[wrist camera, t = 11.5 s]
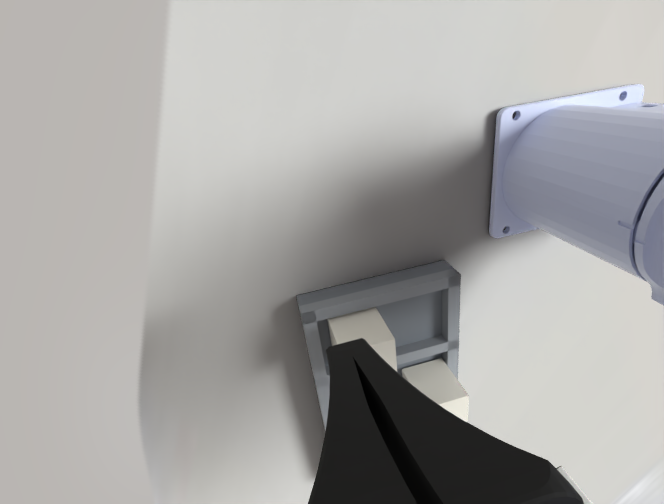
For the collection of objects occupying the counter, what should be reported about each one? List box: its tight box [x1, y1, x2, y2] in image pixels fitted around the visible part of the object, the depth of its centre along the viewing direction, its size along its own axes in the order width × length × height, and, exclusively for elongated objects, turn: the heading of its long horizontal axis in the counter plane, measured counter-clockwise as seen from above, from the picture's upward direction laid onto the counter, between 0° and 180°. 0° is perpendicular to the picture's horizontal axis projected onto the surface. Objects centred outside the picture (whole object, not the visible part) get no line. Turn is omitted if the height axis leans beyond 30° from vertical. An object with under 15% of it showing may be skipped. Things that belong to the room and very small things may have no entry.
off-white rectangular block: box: [327, 307, 397, 371], centre depth 22 cm, size 3×3×4 cm
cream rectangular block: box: [402, 358, 469, 423], centre depth 25 cm, size 3×3×4 cm
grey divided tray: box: [296, 260, 461, 432], centre depth 27 cm, size 10×17×2 cm, turn 8°
